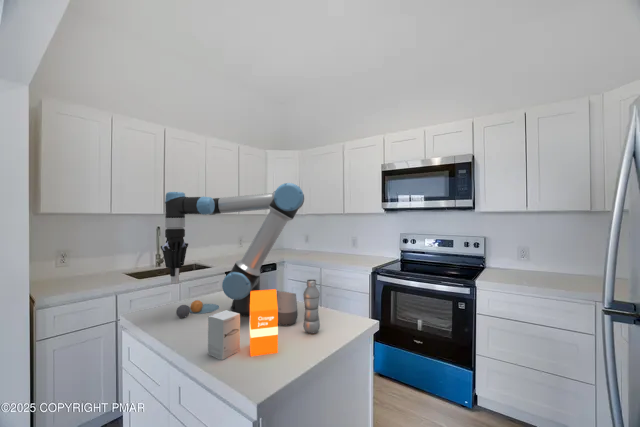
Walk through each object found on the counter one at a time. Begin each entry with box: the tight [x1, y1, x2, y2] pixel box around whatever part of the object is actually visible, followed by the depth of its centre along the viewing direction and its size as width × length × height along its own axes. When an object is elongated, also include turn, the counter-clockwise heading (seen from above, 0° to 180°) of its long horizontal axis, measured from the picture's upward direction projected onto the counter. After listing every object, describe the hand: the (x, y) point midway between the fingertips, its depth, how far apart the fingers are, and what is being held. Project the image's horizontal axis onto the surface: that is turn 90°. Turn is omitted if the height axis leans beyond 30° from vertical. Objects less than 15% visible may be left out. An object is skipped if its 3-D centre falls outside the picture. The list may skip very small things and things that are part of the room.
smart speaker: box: [276, 290, 299, 327], centre depth 118 cm, size 10×9×14 cm
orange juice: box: [249, 288, 279, 357], centre depth 95 cm, size 8×9×20 cm
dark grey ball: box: [175, 304, 191, 319], centre depth 125 cm, size 6×6×6 cm
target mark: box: [189, 303, 220, 315], centre depth 136 cm, size 14×14×1 cm
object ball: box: [189, 299, 204, 312], centre depth 131 cm, size 6×6×6 cm
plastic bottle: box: [302, 279, 321, 334], centre depth 109 cm, size 6×7×20 cm
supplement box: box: [207, 309, 241, 361], centre depth 92 cm, size 7×7×13 cm
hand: (174, 283), depth 119 cm, fingers closed
